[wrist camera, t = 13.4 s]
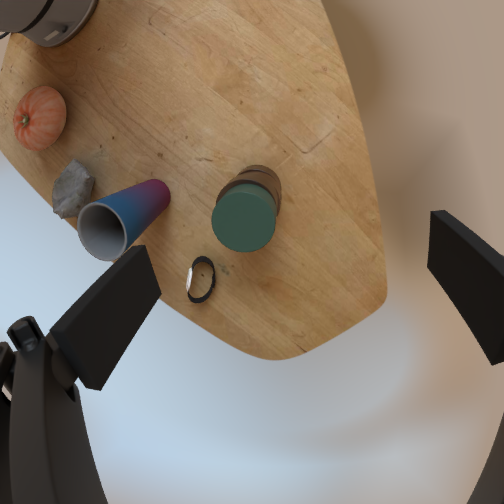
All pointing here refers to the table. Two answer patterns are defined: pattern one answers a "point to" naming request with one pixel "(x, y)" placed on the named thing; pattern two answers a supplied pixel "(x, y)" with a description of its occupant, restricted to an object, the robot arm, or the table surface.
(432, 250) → the robot arm
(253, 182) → the brown jar
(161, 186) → the cup
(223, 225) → the green cylinder
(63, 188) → the fossil
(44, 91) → the tomato
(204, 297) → the watch
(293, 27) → the table surface
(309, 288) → the table surface
